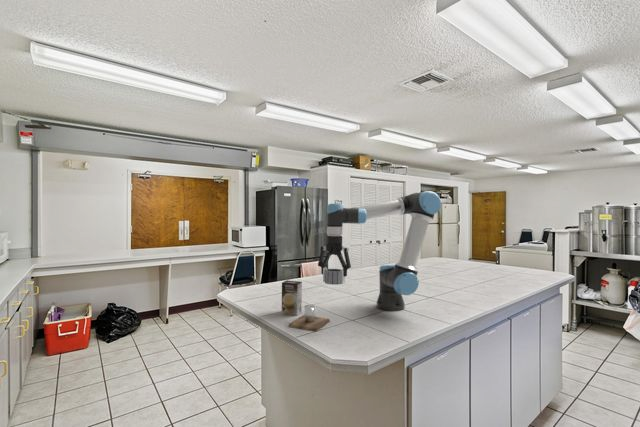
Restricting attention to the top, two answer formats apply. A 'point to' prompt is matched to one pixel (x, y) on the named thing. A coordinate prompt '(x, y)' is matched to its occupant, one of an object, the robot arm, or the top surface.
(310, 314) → the post
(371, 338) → the top surface
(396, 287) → the robot arm
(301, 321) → the base
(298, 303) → the coffee box
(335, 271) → the grey ribbed cylinder
